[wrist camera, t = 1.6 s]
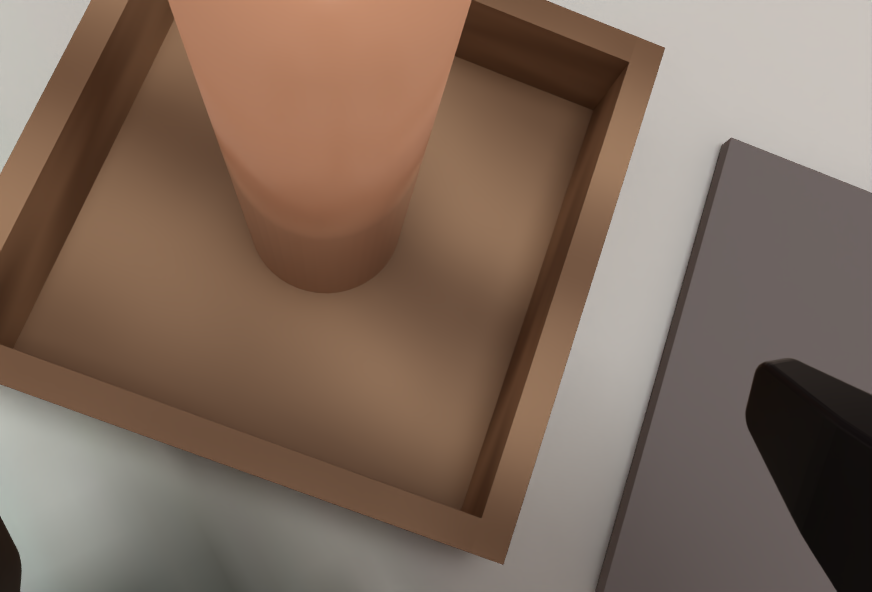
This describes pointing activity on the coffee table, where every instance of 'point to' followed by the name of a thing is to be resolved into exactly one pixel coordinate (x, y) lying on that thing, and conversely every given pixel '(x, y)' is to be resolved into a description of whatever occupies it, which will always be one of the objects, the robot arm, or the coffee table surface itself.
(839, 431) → the robot arm
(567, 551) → the coffee table surface
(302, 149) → the tan cylinder
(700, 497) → the mat
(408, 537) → the coffee table surface
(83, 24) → the crate
